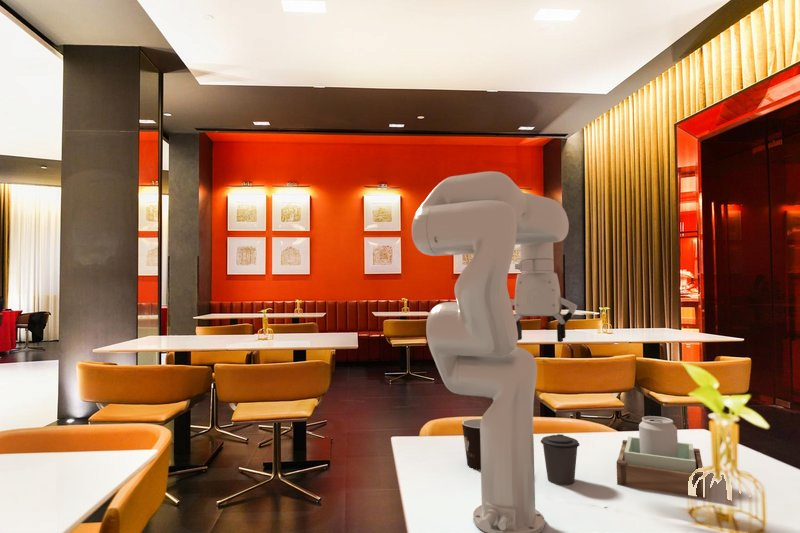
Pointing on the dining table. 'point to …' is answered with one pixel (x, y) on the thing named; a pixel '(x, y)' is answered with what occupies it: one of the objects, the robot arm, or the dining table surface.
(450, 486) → the dining table surface
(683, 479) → the walnut crate
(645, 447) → the can
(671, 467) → the sage crate
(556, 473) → the coffee cup
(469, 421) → the coffee mug
